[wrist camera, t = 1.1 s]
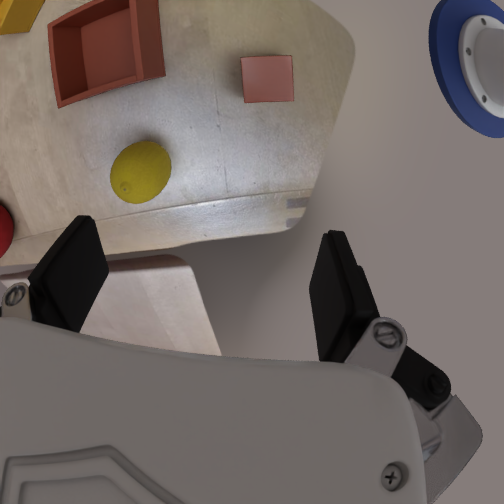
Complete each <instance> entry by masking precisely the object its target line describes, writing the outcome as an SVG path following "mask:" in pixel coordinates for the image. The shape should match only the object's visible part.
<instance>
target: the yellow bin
mask: <svg viewBox="0 0 504 504" xmlns="http://www.w3.org/2000/svg"><path fill="white" fill-rule="evenodd" d="M44 1H45V0H0V35H4V34H12V33H22V32H29V31H30V28H31V26H32V24H33V22H34V20H35V18H36V16H37V14H38V12H39V10H40V8H41V6H42V5H43V3H44Z"/></svg>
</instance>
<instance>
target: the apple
mask: <svg viewBox="0 0 504 504" xmlns="http://www.w3.org/2000/svg"><path fill="white" fill-rule="evenodd" d="M12 239H13V221H12V219H11V217H10V214H9V213H8V212H7V210H6V209H5V208H4V207H3V206H1V205H0V258H1V257H2V256H3V255H4V254H5V252H6V251H7V250H8V248H9V247H10V245H11V242H12Z"/></svg>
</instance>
